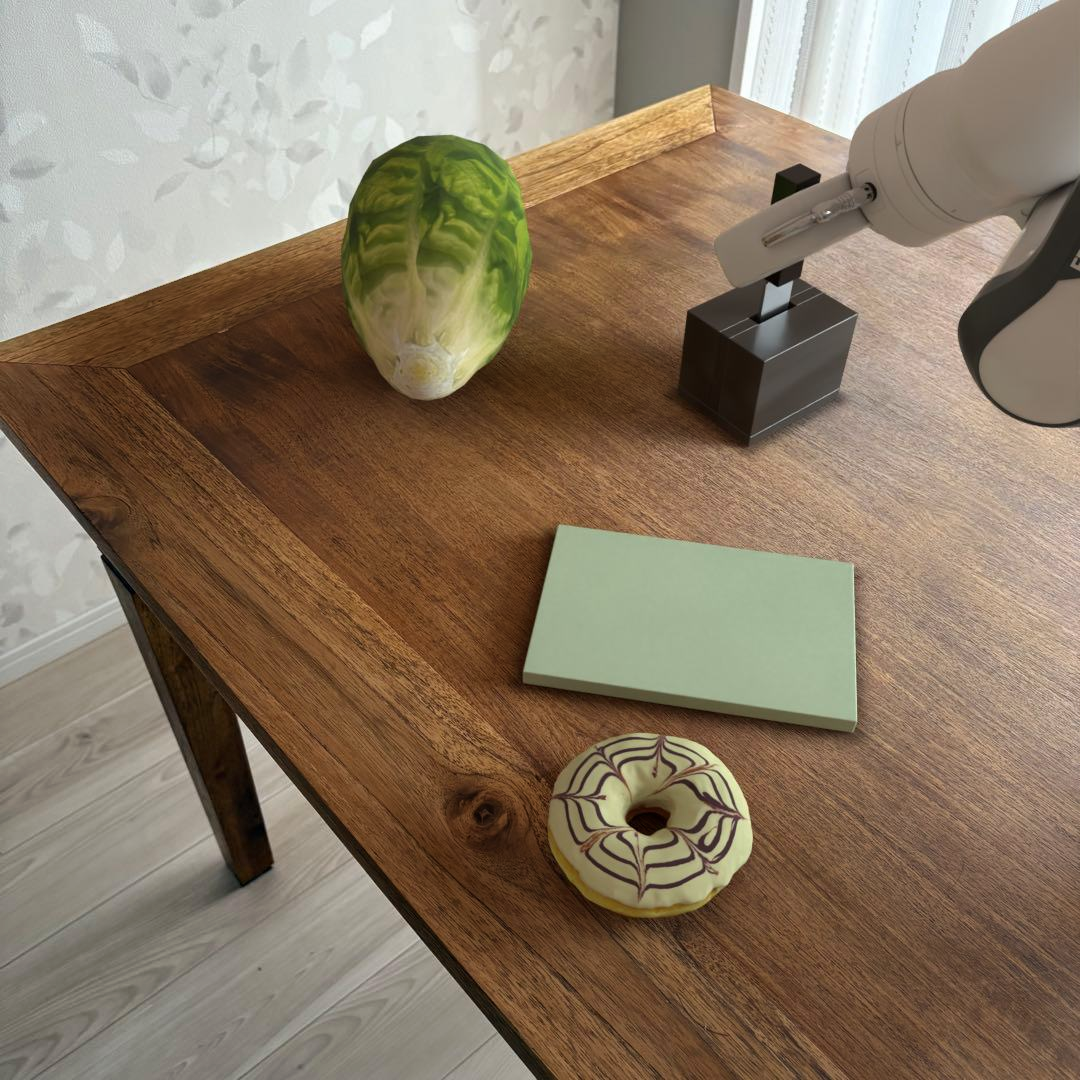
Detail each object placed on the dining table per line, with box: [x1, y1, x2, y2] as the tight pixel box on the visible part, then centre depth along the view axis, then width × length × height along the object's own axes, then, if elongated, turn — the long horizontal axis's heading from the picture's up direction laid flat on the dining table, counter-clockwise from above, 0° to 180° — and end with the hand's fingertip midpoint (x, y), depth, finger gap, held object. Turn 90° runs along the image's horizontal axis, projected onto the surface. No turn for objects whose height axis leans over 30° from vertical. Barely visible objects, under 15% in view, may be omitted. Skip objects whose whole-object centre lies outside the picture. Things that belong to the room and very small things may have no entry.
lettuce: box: [340, 134, 533, 402], centre depth 87 cm, size 15×27×16 cm, turn 0°
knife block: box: [676, 277, 859, 448], centre depth 86 cm, size 8×10×8 cm
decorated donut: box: [547, 732, 754, 919], centre depth 59 cm, size 10×11×4 cm
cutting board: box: [522, 523, 858, 733], centre depth 71 cm, size 20×13×1 cm, turn 80°
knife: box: [757, 162, 822, 325], centre depth 81 cm, size 2×3×18 cm, turn 128°
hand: (778, 243), depth 79 cm, fingers closed on knife, 2 cm apart
